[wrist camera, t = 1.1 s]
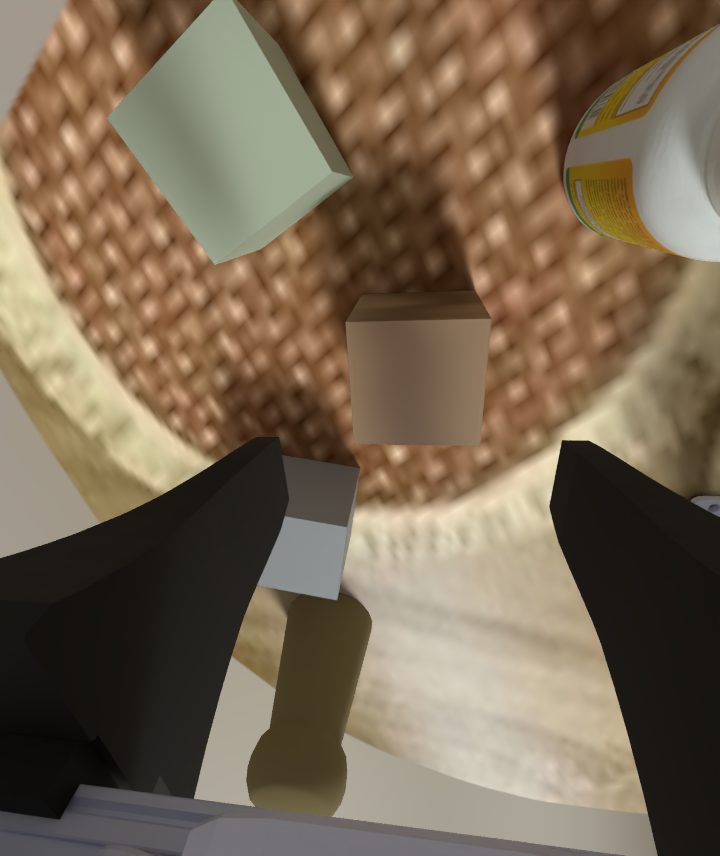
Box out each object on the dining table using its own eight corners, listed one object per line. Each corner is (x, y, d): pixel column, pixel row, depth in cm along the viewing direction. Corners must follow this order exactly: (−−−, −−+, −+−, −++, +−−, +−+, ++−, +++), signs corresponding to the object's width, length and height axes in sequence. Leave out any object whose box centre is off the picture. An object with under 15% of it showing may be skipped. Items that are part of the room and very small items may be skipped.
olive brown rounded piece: (273, 600, 30) (205, 788, 21) (349, 582, 28) (314, 779, 19) (312, 653, 33) (267, 844, 23) (385, 639, 31) (370, 841, 21)
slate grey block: (360, 467, 24) (346, 527, 20) (350, 533, 26) (337, 600, 22) (273, 452, 24) (241, 508, 20) (272, 519, 27) (243, 582, 22)
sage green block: (279, 45, 16) (224, -13, 11) (354, 177, 17) (332, 171, 13) (185, 137, 17) (106, 117, 13) (261, 248, 19) (214, 264, 15)
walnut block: (475, 289, 19) (491, 318, 14) (467, 394, 21) (480, 445, 17) (362, 293, 20) (345, 322, 15) (367, 394, 22) (354, 444, 18)
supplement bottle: (585, 63, 15) (800, -108, 6) (749, 71, 14) (1207, -99, 6) (542, 233, 17) (656, 269, 9) (680, 244, 17) (933, 292, 9)
